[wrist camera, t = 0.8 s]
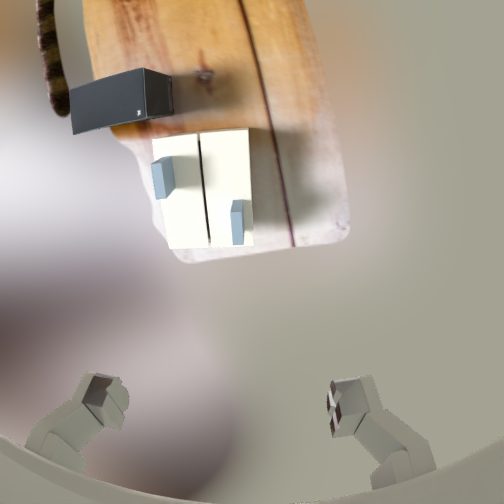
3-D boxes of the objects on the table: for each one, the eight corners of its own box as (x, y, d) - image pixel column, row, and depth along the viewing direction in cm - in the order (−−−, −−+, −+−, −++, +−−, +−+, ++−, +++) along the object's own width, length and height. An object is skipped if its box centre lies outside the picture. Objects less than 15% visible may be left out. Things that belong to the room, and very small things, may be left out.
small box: (172, 72, 32) (145, 64, 23) (174, 115, 35) (148, 120, 26) (106, 87, 33) (67, 87, 23) (110, 127, 36) (72, 137, 27)
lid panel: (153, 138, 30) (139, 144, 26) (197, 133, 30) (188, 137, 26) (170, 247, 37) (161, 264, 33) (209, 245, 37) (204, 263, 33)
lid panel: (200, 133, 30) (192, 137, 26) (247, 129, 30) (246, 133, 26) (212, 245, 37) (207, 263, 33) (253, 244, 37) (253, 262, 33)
